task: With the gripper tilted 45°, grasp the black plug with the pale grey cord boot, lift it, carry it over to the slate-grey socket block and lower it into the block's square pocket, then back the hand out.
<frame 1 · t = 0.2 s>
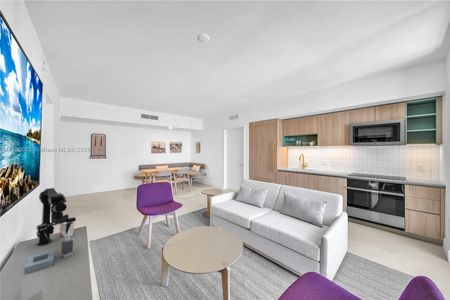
hand: (57, 236, 117), 15 cm above the table, tool tilted 15°, fingers open, 9 cm apart
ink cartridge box: (66, 235, 148), on the table
plug: (66, 254, 122), on the table
socket block: (40, 264, 111), on the table
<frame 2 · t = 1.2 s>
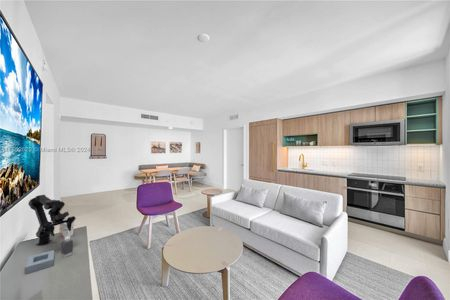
hand: (62, 233, 125), 13 cm above the table, tool tilted 45°, fingers open, 9 cm apart
nothing on the table moved.
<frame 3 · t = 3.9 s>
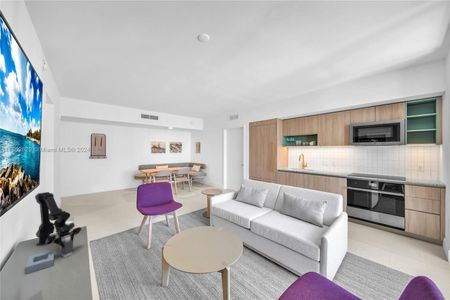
hand: (68, 245, 122), 7 cm above the table, tool tilted 45°, fingers closed on plug, 4 cm apart
plug: (66, 254, 122), on the table, touching gripper
everything else where it was.
when the fingers open (8 cm above the table, at t = 8.1 s): plug stays where it is, resting on socket block.
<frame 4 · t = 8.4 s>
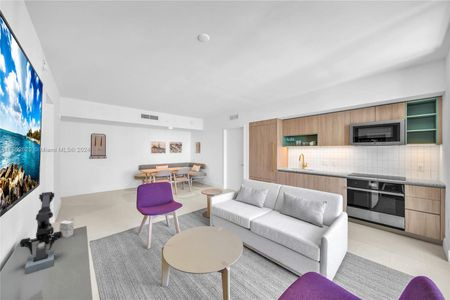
hand: (40, 251, 110), 9 cm above the table, tool tilted 45°, fingers open, 8 cm apart
plug: (40, 262, 111), point 1 cm above the table, touching socket block
everything else where it was.
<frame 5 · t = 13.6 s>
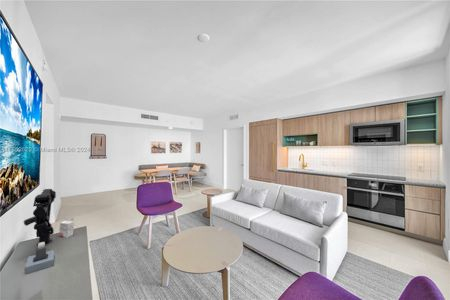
hand: (41, 233, 124), 13 cm above the table, tool pointing down, fingers open, 9 cm apart
nothing on the table moved.
at the end: plug 0.0 cm off-centre on the socket block, point 1.0 cm above the socket block's base; plug tilted 0°; the gripper is holding nothing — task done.
